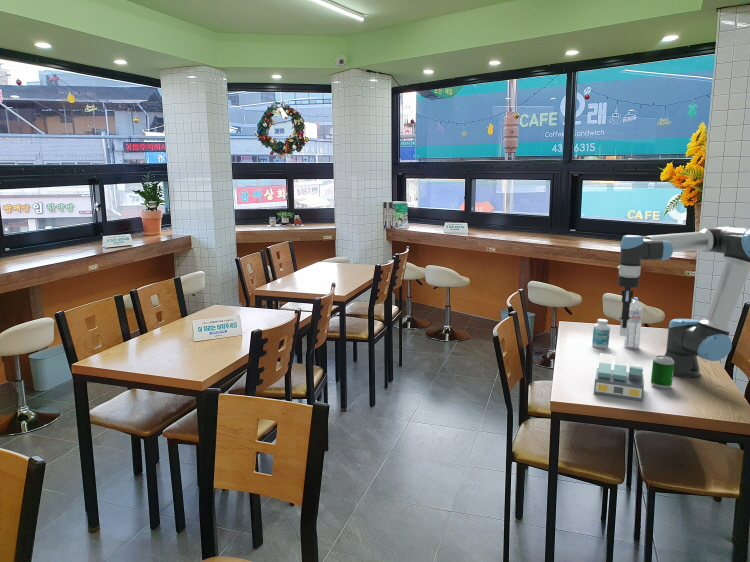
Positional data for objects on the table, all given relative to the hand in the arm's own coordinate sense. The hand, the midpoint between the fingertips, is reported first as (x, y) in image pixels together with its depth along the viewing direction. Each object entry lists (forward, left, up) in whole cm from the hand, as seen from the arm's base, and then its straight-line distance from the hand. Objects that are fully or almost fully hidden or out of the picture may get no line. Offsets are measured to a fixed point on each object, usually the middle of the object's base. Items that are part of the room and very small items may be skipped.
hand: (623, 335), depth 222 cm
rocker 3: (-5, +5, -13) cm, 15 cm away
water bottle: (-4, -61, -22) cm, 64 cm away
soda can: (-15, -9, -22) cm, 28 cm away
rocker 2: (0, +4, -13) cm, 14 cm away
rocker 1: (+6, +4, -13) cm, 15 cm away
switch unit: (0, +4, -21) cm, 22 cm away
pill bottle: (+10, -56, -22) cm, 60 cm away
